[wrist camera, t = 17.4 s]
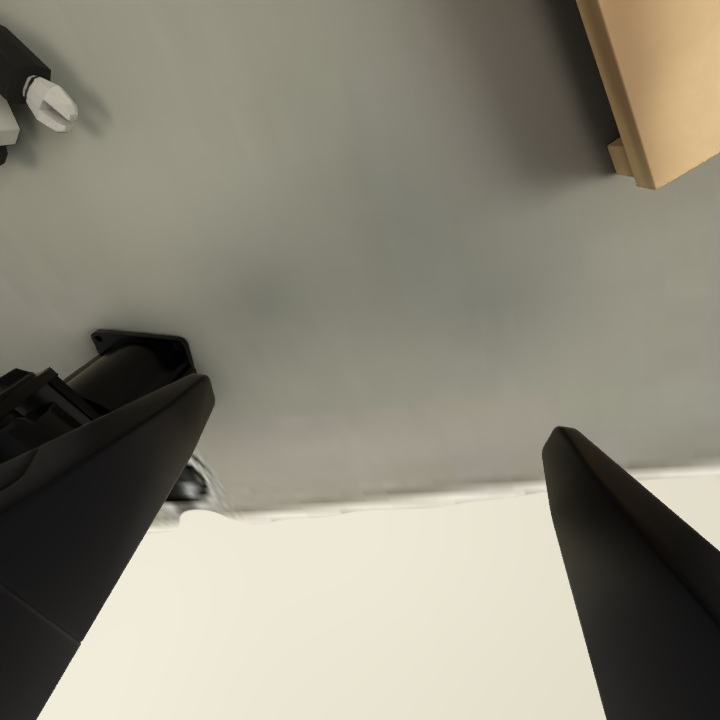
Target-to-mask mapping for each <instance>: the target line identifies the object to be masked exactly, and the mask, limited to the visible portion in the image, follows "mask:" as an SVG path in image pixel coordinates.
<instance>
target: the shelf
mask: <svg viewBox="0 0 720 720" xmlns="http://www.w3.org/2000/svg"><path fill="white" fill-rule="evenodd" d="M576 2H577V5H578V9H579V12H580V15H581V18H582V21H583V24H584V27H585V30H586V33H587V36H588V39H589V42H590V45H591V48H592V51H593V54H594V57H595V60H596V63H597V66H598V69H599V72H600V75H601V78H602V81H603V84H604V87H605V90H606V93H607V96H608V99H609V102H610V105H611V108H612V111H613V114H614V118H615V121H616V124H617V127H618V130H619V133H620V136H621V137H620V138H618V139H617V140H615V141H614V142H612V143H611V144H609V145H608V146H607V147H608V150H609V153H610V156H611V158H612V161H613V164H614V167H615V170H616V173H617V174H619V175H625V176H631V177H634V178H635V181H636V184H637V186H638V187H643V188H648V189H652V190H657V189H659V188H660V187H662V186H664V185H665V184H667V183H669V182H670V181H672V180H674V179H675V178H677V177H679V176H681V175H682V174H684V173H686V172H687V171H689V170H691V169H692V168H694V167H696V166H697V165H699V164H701V163H702V162H704V161H706V160H707V159H709V158H711V157H712V156H714V155H716V154H718V153H719V152H720V0H576Z"/></svg>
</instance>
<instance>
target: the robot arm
mask: <svg viewBox="0 0 720 720" xmlns="http://www.w3.org/2000/svg"><path fill="white" fill-rule="evenodd" d="M91 337H92V340H93V342H94V344H95V346H96V349H97V351H98V353H99V355H97V356H96V357H95V358H93V359H92V360H90V361H89V362H88V363H86V364H85V365H84V366H82V367H81V368H79V369H78V370H77V371H75V372H74V373H72V374H71V375H70V376H68V377H67V378H66V379H64V380H63V381H62V380H61V379H60V378H59V377H58V374H57V373H56V372H55V371H54V370H53V369H51V368H50V367H49V368H47V369H45V370H43V371H42V372H40V373H38V374H36V375H35V374H34V373H33V372H27V371H24V370H20V369H17V368H16V369H14V370H12V371H10V372H8V373H7V374H5V375H3V376H2V377H0V720H36V719H37V717H38V716H39V714H40V713H41V711H42V709H43V707H44V706H45V704H46V702H47V701H48V699H49V697H50V696H51V694H52V692H53V690H54V689H55V687H56V685H57V684H58V682H59V680H60V679H61V677H62V675H63V673H64V672H65V670H66V668H67V667H68V665H69V663H70V662H71V660H72V658H73V657H74V655H75V653H76V651H77V650H78V648H79V646H80V645H81V641H82V640H83V639H84V637H85V636H86V634H87V632H88V631H89V629H90V627H91V625H92V624H93V622H94V620H95V619H96V617H97V615H98V613H99V612H100V610H101V608H102V607H103V605H104V603H105V602H106V600H107V598H108V597H109V595H110V593H111V591H112V590H113V588H114V586H115V585H116V583H117V581H118V579H119V578H120V576H121V574H122V573H123V571H124V569H125V568H126V566H127V564H128V563H129V561H130V559H131V558H132V556H133V554H134V552H135V551H136V549H137V547H138V546H139V544H140V542H141V541H142V539H143V537H144V535H145V534H146V532H147V530H148V529H149V527H150V525H151V524H152V522H153V520H154V518H155V517H156V515H157V513H158V512H159V510H160V508H161V507H162V505H163V503H164V501H165V500H166V498H167V496H168V495H169V493H170V491H171V490H172V488H173V486H174V484H175V483H176V481H177V479H178V478H179V476H180V474H181V473H182V471H183V469H184V468H185V466H186V464H187V462H188V461H189V459H190V457H191V455H192V453H193V451H194V449H195V447H196V445H197V443H198V440H199V438H200V436H201V434H202V432H203V429H204V427H205V425H206V423H207V420H208V418H209V416H210V414H211V412H212V409H213V407H214V404H215V397H214V393H213V389H212V385H211V381H210V378H209V377H208V376H206V375H202V374H197V372H196V369H195V367H194V363H193V360H192V356H191V353H190V349H189V346H188V343H187V341H186V340H185V339H183V338H182V337H175V336H165V335H154V334H143V333H132V332H122V331H111V330H97V331H95V332H94V333H92V334H91ZM178 344H180V345H181V346H179V345H178ZM542 459H543V466H544V473H545V479H546V486H547V492H548V499H549V505H550V511H551V516H552V519H553V524H554V528H555V531H556V535H557V538H558V542H559V546H560V550H561V554H562V557H563V561H564V564H565V568H566V572H567V575H568V579H569V583H570V586H571V590H572V594H573V598H574V601H575V605H576V609H577V612H578V616H579V620H580V624H581V627H582V631H583V634H584V638H585V642H586V646H587V649H588V653H589V657H590V660H591V664H592V667H593V671H594V675H595V679H596V682H597V686H598V690H599V693H600V697H601V701H602V705H603V708H604V712H605V715H606V719H607V720H720V551H719V550H718V549H716V548H715V547H714V546H713V545H712V544H710V543H709V542H708V541H707V540H706V539H705V538H703V537H702V536H701V535H700V534H699V533H698V532H696V531H695V530H694V529H693V528H692V527H691V526H689V525H688V524H687V523H686V522H685V521H683V520H682V519H681V518H680V517H679V516H677V515H676V514H675V513H674V512H673V511H672V510H671V509H669V508H668V507H667V506H666V505H665V504H664V503H662V502H661V501H660V500H659V499H658V498H656V497H655V496H654V495H653V494H652V493H650V492H649V491H648V490H647V489H646V488H645V487H644V486H642V485H641V484H640V483H639V482H638V481H637V480H635V479H634V478H633V477H632V476H631V475H630V474H628V473H627V472H626V471H625V470H624V469H622V468H621V467H620V466H619V465H618V464H617V463H615V462H614V461H613V460H612V459H611V458H610V457H608V456H607V455H606V454H605V453H604V452H603V451H601V450H600V449H599V448H598V447H597V446H595V445H594V444H593V443H592V442H591V441H590V440H588V439H587V438H586V437H585V436H584V435H583V434H581V433H580V432H579V431H578V430H576V429H574V428H569V427H562V426H557V427H556V428H554V430H553V431H552V433H551V435H550V437H549V438H548V440H547V442H546V443H545V445H544V447H543V450H542Z"/></svg>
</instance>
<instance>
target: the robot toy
mask: <svg viewBox="0 0 720 720" xmlns="http://www.w3.org/2000/svg"><path fill="white" fill-rule="evenodd" d="M50 77H51V70H50V69H49V68H48V67H47V66H46V65H45V64H44V63H43V62H42V61H41V60H40V59H39V58H37V57H36V56H35V55H34V54H33V53H32V52H31V51H30V50H29V49H28V48H27V47H26V46H25V45H24V44H23V43H22V42H21V41H20V40H19V39H18V38H17V37H15V36H14V35H13V34H12V33H11V32H10V31H9V30H8V29H7V28H6V27H4V26H2V25H0V165H2V164H4V163H5V161H6V158H7V155H8V152H7V147H6V145H11V144H15V143H16V140H17V137H18V134H19V131H20V128H19V126H18V124H17V122H16V120H15V117H14V115H13V113H12V111H11V109H10V106H9V104H8V102H7V101H10V102H14V103H19V104H26V103H27V104H28V106H29V107H30V109H31V111H32V112H33V114H34V115H35V117H36V119H37V120H39V121H40V122H42V123H43V124H45V125H46V126H48V127H49V128H51V129H53V130H54V131H56V132H58V133H67V132H69V131H71V130H72V128H73V125H72V124H71V123H70V122H69V121H71V120H76V119H77V117H78V110H77V105H76V104H75V103H74V102H73V100H72V99H71V98H70V97H69V95H68V94H67V93H66V91H65V90H64V89H63V88H61V87H60V86H58V85H56V84H54V83H52V82H50Z"/></svg>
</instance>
